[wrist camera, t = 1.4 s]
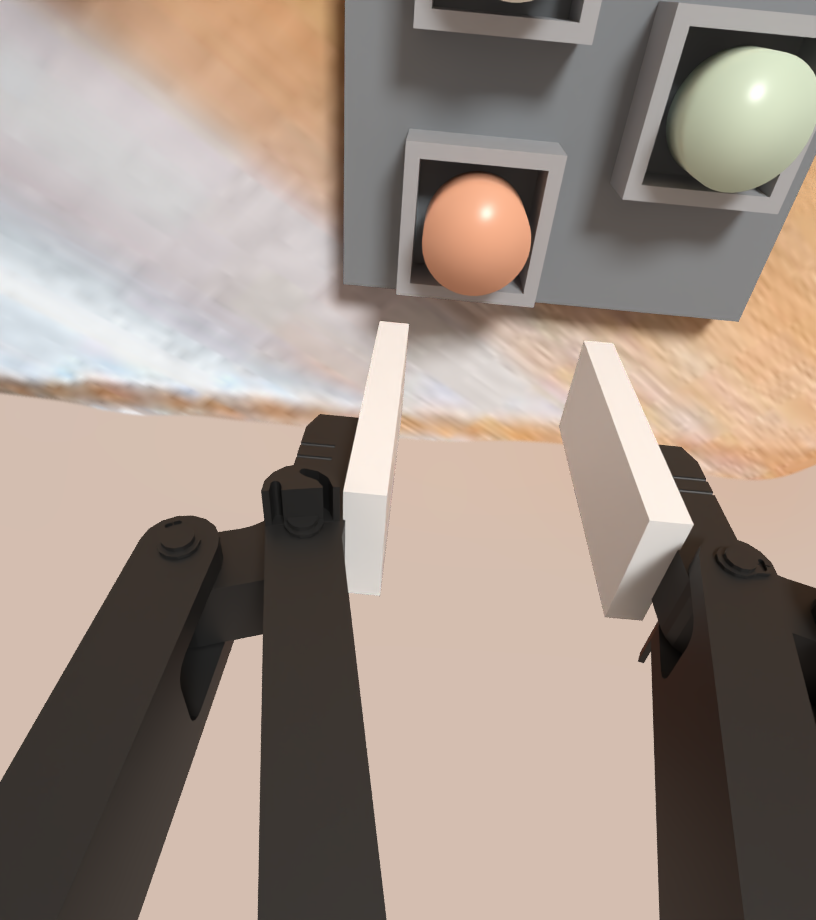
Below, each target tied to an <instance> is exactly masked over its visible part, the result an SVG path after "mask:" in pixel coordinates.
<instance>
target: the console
mask: <svg viewBox="0 0 816 920" xmlns="http://www.w3.org/2000/svg"><path fill="white" fill-rule="evenodd" d="M741 45H752V46H758V47H762V48H767V49H772V50H777V51H781V52H786V53H790V54H792V55H795V56H797V57H799V58H800V59H802V60H803V61H804V62H805V63H807V64H808V65H809V67H810V68H811V69H812V71H813V72H814V74H815V76H816V0H532V1H528V2H522V3H511V2H505V1H501V0H345V85H344V270H343V284H348V285H359V286H369V287H380V288H390V289H396V295H406V296H416V297H427V298H437V299H448V300H458V301H469V302H479V303H490V304H500V305H511V306H521V307H532V308H534V304H535V302H538V303H548V304H559V305H569V306H580V307H590V308H601V309H611V310H622V311H632V312H643V313H653V314H664V315H674V316H685V317H695V318H706V319H716V320H727V321H737V322H739V319H740V317H741V315H742V313H743V311H744V309H745V306H746V304H747V302H748V300H749V298H750V296H751V293H752V291H753V289H754V287H755V285H756V283H757V280H758V278H759V276H760V274H761V272H762V270H763V267H764V265H765V263H766V261H767V259H768V257H769V254H770V252H771V250H772V248H773V246H774V244H775V242H776V239H777V237H778V235H779V233H780V231H781V229H782V226H783V224H784V222H785V220H786V218H787V216H788V213H789V211H790V209H791V207H792V205H793V203H794V200H795V198H796V196H797V194H798V192H799V190H800V187H801V185H802V183H803V181H804V179H805V177H806V174H807V172H808V170H809V168H810V166H811V164H812V161H813V159H814V157H815V155H816V125H815V127H814V130H813V133H812V134H811V136H810V138H809V140H808V142H807V144H806V145H805V147H804V148H803V150H802V151H801V153H800V154H799V155H798V156H797V158H796V159H795V160H794V161H793V162H792V163H791V164H790V165H789V166H788V167H787V168H786V169H785V170H784V171H783V172H781V173H780V174H779V175H777V176H776V177H775V178H773V179H772V180H770V181H768V182H767V183H765V184H763V185H761V186H758V187H756V188H753V189H750V190H747V191H742V192H735V193H725V192H719V191H715V190H712V189H710V188H708V187H706V186H704V185H703V184H702V183H700V182H699V181H698V180H697V179H695V178H694V177H693V176H692V175H690V174H689V173H688V172H687V171H685V170H684V169H683V168H682V167H681V166H679V165H678V163H677V162H676V161H675V160H674V158H673V157H672V155H671V153H670V151H669V148H668V144H667V139H666V123H667V116H668V112H669V109H670V106H671V103H672V101H673V98H674V96H675V94H676V92H677V91H678V89H679V87H680V86H681V84H682V83H683V82H684V80H685V79H686V78H687V76H688V75H689V74H690V73H691V72H692V71H693V70H694V69H695V68H696V67H697V66H698V65H699V64H701V63H702V62H703V61H704V60H706V59H707V58H709V57H710V56H712V55H714V54H716V53H717V52H720V51H722V50H724V49H727V48H731V47H734V46H741ZM472 171H484V172H489V173H492V174H496V175H498V176H500V177H502V178H503V179H505V180H506V181H507V182H509V183H510V184H511V185H512V186H513V187H514V189H515V190H516V191H517V193H518V194H519V196H520V198H521V200H522V203H523V206H524V209H525V212H526V215H527V218H528V222H529V225H530V230H531V246H530V252H529V255H528V258H527V261H526V263H525V265H524V267H523V268H522V270H521V271H520V273H519V274H518V275H517V276H516V277H515V279H514V280H513V281H511V282H510V283H509V284H508V285H506V286H505V287H503V288H502V289H500V290H498V291H496V292H493V293H490V294H486V295H481V296H467V295H461V294H458V293H455V292H453V291H450V290H448V289H447V288H445V287H444V286H442V285H441V284H440V283H439V282H438V281H437V280H436V279H435V278H434V277H433V276H432V274H431V273H430V271H429V269H428V268H427V265H426V263H425V260H424V256H423V250H422V237H423V229H424V220H425V214H426V210H427V207H428V205H429V202H430V200H431V199H432V197H433V195H434V194H435V193H436V191H437V190H438V189H439V188H440V187H441V186H442V185H443V184H444V183H445V182H447V181H448V180H449V179H451V178H453V177H455V176H457V175H459V174H462V173H466V172H472Z"/></svg>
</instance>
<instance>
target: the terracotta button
mask: <svg viewBox="0 0 816 920" xmlns="http://www.w3.org/2000/svg"><path fill="white" fill-rule="evenodd" d="M530 246H531V230H530V225H529V222H528V218H527V215H526V212H525V209H524V206H523V203H522V200H521V198H520V196H519V194H518V193H517V191H516V190H515V189H514V187H513V186H512V185H511V184H510V183H509V182H507V181H506V180H505V179H503V178H502V177H500V176H498V175H496V174H492V173H489V172H484V171H472V172H466V173H462V174H459V175H457V176H455V177H453V178H451V179H449V180H448V181H447V182H445V183H444V184H443V185H442V186H441V187H440V188H439V189H438V190H437V191H436V193H435V194H434V195H433V197H432V199H431V200H430V202H429V205H428V207H427V210H426V214H425V220H424V229H423V237H422V250H423V256H424V260H425V263H426V265H427V268H428V269H429V271H430V273H431V274H432V276H433V277H434V278H435V279H436V280H437V281H438V282H439V283H440V284H441V285H442V286H444V287H445V288H447V289H448V290H450V291H453V292H455V293H458V294H461V295H467V296H481V295H486V294H490V293H493V292H496V291H498V290H500V289H502V288H503V287H505V286H506V285H508V284H509V283H510V282H511V281H513V280H514V279H515V277H516V276H517V275H518V274H519V273H520V271H521V270H522V268H523V267H524V265H525V263H526V261H527V258H528V255H529V252H530Z"/></svg>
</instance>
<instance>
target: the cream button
mask: <svg viewBox="0 0 816 920" xmlns="http://www.w3.org/2000/svg"><path fill="white" fill-rule="evenodd" d="M501 1H505V2H511V3H522V2H528V1H532V0H501Z"/></svg>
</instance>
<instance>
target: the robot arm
mask: <svg viewBox="0 0 816 920" xmlns="http://www.w3.org/2000/svg"><path fill="white" fill-rule="evenodd" d="M408 331H409V324H405V323H395V322H384V321H380V323H379V327H378V332H377V336H376V341H375V346H374V350H373V355H372V360H371V364H370V369H369V374H368V378H367V383H366V388H365V392H364V397H363V402H362V406H361V411H360V415H359V418H355V417H344V416H334V415H323V414H320V415H318V416H317V417H316V418H315V419H314V420H313V421H312V422H311V423H310V424H309V425H308V426H307V427H306V429H305V432H304V435H303V438H302V441H301V445H300V447H299V450H298V454H297V457H296V460H295V463H294V465H292V466H286V467H284V468H282V469H279V470H277V471H275V472H273V473H272V474H271V475H270V476H269V477H268V478H267V479H266V480H265V481H264V484H263V488H262V490H261V493H262V503H263V512H264V521H263V522H261V523H258V524H256V525H254V526H250V527H246V528H242V529H236V530H230V531H223V532H218V531H217V529H216V527H215V526H214V525H213V524H212V523H210V522H209V521H208V520H206V519H203V518H199V517H196V516H176V517H174V518H170V519H166V520H163V521H161V522H159V523H158V524H156V525H154V526H153V527H151V528H150V529H149V530H148V531H147V532H146V533H145V534H144V535H143V537H142V538H141V539H140V540H139V542H138V544H137V545H136V547H135V549H134V551H133V552H132V554H131V556H130V558H129V559H128V561H127V563H126V565H125V566H124V568H123V570H122V572H121V574H120V575H119V577H118V578H117V580H116V582H115V584H114V585H113V587H112V589H111V591H110V592H109V594H108V596H107V598H106V600H105V601H104V603H103V605H102V606H101V608H100V610H99V611H98V613H97V615H96V617H95V618H94V620H93V622H92V624H91V626H90V627H89V629H88V631H87V632H86V634H85V636H84V637H83V639H82V641H81V643H80V644H79V646H78V648H77V650H76V651H75V653H74V655H73V657H72V658H71V660H70V662H69V664H68V665H67V667H66V669H65V671H64V672H63V674H62V676H61V677H60V679H59V681H58V683H57V684H56V686H55V688H54V690H53V691H52V693H51V695H50V697H49V698H48V700H47V702H46V703H45V705H44V707H43V709H42V710H41V712H40V714H39V716H38V718H37V719H36V721H35V723H34V724H33V726H32V728H31V729H30V731H29V733H28V735H27V737H26V738H25V740H24V742H23V744H22V745H21V747H20V749H19V750H18V752H17V754H16V756H15V757H14V759H13V761H12V762H11V764H10V766H9V768H8V769H7V771H6V773H5V775H4V776H3V778H2V780H1V782H0V920H138V917H139V914H140V912H141V909H142V906H143V903H144V900H145V897H146V894H147V891H148V888H149V885H150V883H151V879H152V877H153V874H154V871H155V868H156V865H157V862H158V859H159V856H160V853H161V851H162V848H163V844H164V842H165V839H166V836H167V833H168V830H169V827H170V825H171V822H172V819H173V816H174V813H175V810H176V807H177V804H178V801H179V798H180V796H181V792H182V790H183V787H184V784H185V781H186V778H187V775H188V772H189V769H190V767H191V764H192V761H193V758H194V755H195V752H196V749H197V746H198V743H199V740H200V737H201V735H202V732H203V729H204V726H205V723H206V720H207V717H208V714H209V711H210V709H211V706H212V702H213V700H214V697H215V694H216V691H217V688H218V685H219V682H220V680H221V676H222V674H223V671H224V668H225V665H226V662H227V659H228V656H229V653H230V651H231V647H232V644H233V642H234V640H236V639H240V638H245V637H251V636H256V635H261V634H263V664H262V718H261V771H260V772H261V773H260V826H259V879H258V880H259V882H258V883H259V884H258V920H386V912H385V903H384V895H383V886H382V878H381V869H380V860H379V852H378V844H377V836H376V835H377V834H376V826H375V817H374V809H373V800H372V791H371V783H370V774H369V766H368V757H367V748H366V741H365V731H364V723H363V714H362V706H361V697H360V688H359V680H358V671H357V663H356V654H355V645H354V637H353V628H352V619H351V611H350V602H349V593H356V594H366V595H376V596H380V593H381V583H382V575H383V567H384V559H385V551H386V542H387V534H388V525H389V517H390V508H391V500H392V491H393V483H394V475H395V466H396V458H397V448H398V441H399V432H400V424H401V415H402V405H403V393H404V380H405V368H406V356H407V344H408ZM559 428H560V432H561V436H562V441H563V445H564V449H565V453H566V457H567V461H568V466H569V470H570V474H571V478H572V482H573V486H574V491H575V495H576V499H577V503H578V507H579V511H580V516H581V519H582V524H583V528H584V532H585V537H586V541H587V545H588V549H589V553H590V557H591V562H592V565H593V570H594V574H595V578H596V582H597V587H598V591H599V595H600V599H601V604H602V608H603V611H604V616H605V617H609V618H620V619H631V620H643V619H644V617H645V614H646V613H647V611H648V609H649V607H650V605H651V604H652V603H653V606H654V609H655V612H656V615H657V618H658V622H657V624H656V625H655V627H654V629H653V631H652V632H651V634H650V636H649V638H648V640H647V641H646V643H645V645H644V647H643V648H642V650H641V652H640V656H639V660H638V661H639V662H642V663H644V662H645V660H646V658H647V656H648V655H649V653H650V652H651V666H652V696H653V728H654V758H655V788H656V789H655V790H656V821H657V850H658V851H657V853H658V883H659V912H660V913H659V914H660V920H816V588H813V587H810V586H807V585H804V584H801V583H798V582H795V581H792V580H789V579H786V578H783V577H781V576H778V575H777V573H776V571H775V569H774V567H773V565H772V563H771V562H770V561H769V560H768V559H767V558H766V557H765V556H764V555H763V554H762V553H761V552H760V551H758V550H757V549H755V548H754V547H752V546H750V545H749V544H747V543H744V542H742V541H739V540H737V538H736V536H735V535H734V532H733V530H732V528H731V527H730V525H729V523H728V521H727V519H726V517H725V515H724V513H723V511H722V509H721V507H720V505H719V503H718V501H717V499H716V497H715V495H712V494H713V491H712V489H711V487H710V485H709V483H708V482H706V478H705V476H704V474H703V472H702V470H701V468H700V466H699V464H698V462H697V461H696V460H695V459H694V458H693V457H692V456H690V455H689V454H688V453H687V452H686V451H685V450H684V449H683V448H682V447H677V446H666V445H658V443H657V441H656V439H655V436H654V434H653V432H652V430H651V427H650V425H649V423H648V421H647V418H646V416H645V414H644V412H643V409H642V407H641V405H640V403H639V400H638V398H637V396H636V394H635V391H634V389H633V387H632V384H631V382H630V380H629V378H628V375H627V373H626V371H625V369H624V366H623V364H622V362H621V360H620V357H619V355H618V353H617V351H616V348H615V346H614V344H613V343H606V342H595V341H585V340H584V342H583V345H582V349H581V352H580V356H579V359H578V362H577V366H576V369H575V373H574V376H573V380H572V383H571V387H570V390H569V394H568V397H567V400H566V404H565V407H564V411H563V414H562V418H561V421H560V425H559Z"/></svg>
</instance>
